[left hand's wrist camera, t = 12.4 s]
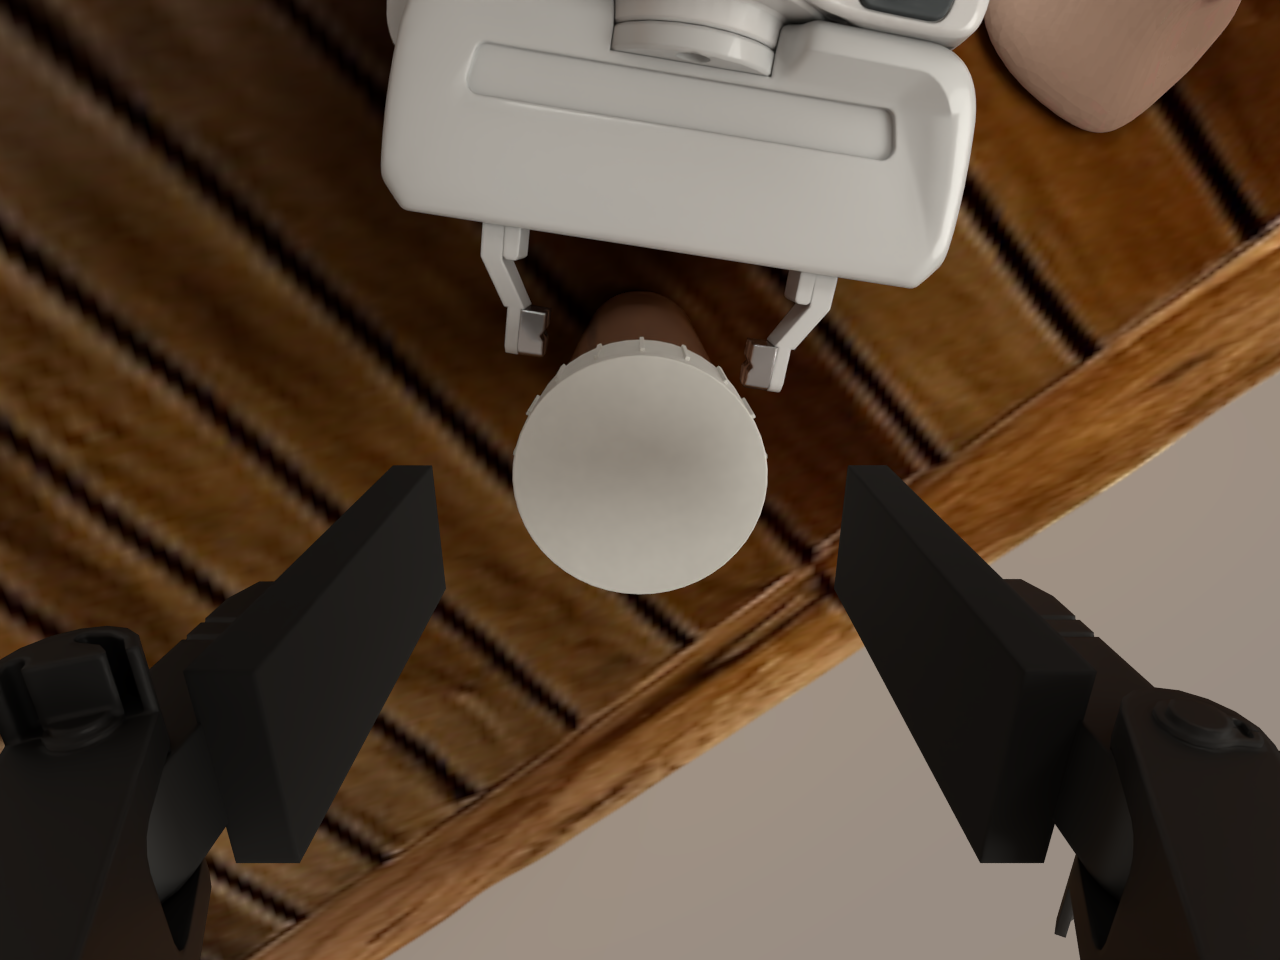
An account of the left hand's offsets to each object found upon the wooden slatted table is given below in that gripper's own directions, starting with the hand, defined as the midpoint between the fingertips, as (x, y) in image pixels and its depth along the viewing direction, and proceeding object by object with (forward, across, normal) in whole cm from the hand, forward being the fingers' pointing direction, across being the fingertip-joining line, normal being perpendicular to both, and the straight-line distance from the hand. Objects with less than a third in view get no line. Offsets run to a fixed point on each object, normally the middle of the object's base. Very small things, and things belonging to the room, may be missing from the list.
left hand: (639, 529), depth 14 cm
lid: (+3, 0, 0) cm, 3 cm away
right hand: (+15, 0, 0) cm, 15 cm away
